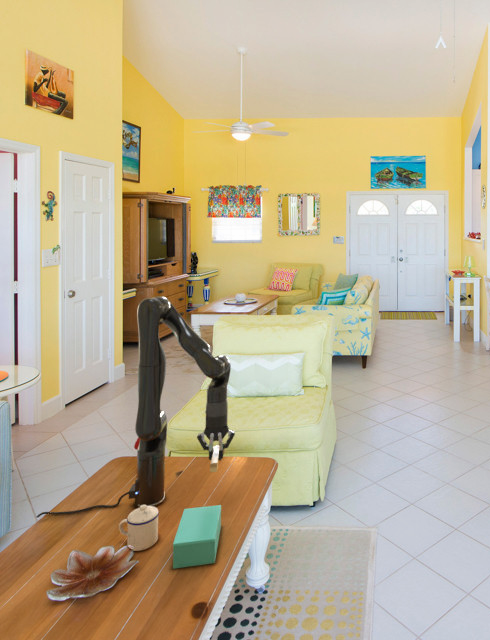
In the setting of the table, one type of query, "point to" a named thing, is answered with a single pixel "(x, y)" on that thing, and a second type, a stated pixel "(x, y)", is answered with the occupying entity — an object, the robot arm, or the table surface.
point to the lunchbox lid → (198, 525)
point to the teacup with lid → (141, 527)
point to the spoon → (215, 459)
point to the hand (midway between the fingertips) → (216, 459)
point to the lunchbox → (196, 552)
